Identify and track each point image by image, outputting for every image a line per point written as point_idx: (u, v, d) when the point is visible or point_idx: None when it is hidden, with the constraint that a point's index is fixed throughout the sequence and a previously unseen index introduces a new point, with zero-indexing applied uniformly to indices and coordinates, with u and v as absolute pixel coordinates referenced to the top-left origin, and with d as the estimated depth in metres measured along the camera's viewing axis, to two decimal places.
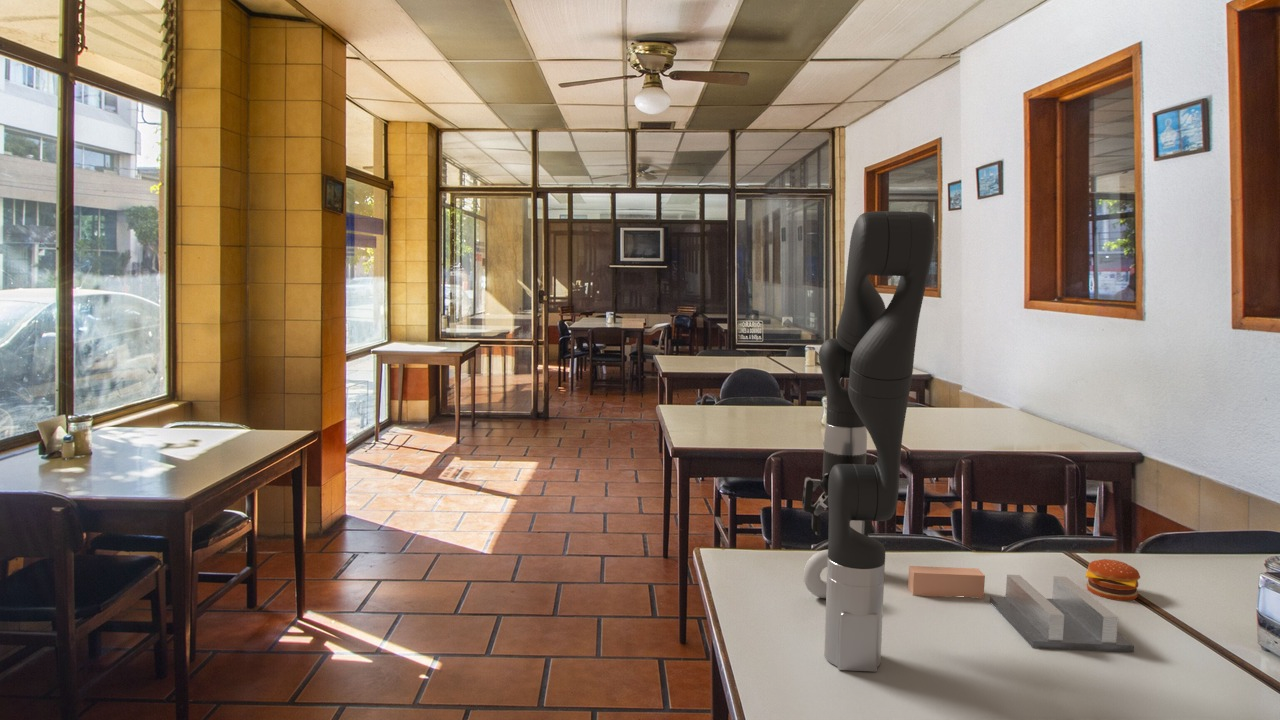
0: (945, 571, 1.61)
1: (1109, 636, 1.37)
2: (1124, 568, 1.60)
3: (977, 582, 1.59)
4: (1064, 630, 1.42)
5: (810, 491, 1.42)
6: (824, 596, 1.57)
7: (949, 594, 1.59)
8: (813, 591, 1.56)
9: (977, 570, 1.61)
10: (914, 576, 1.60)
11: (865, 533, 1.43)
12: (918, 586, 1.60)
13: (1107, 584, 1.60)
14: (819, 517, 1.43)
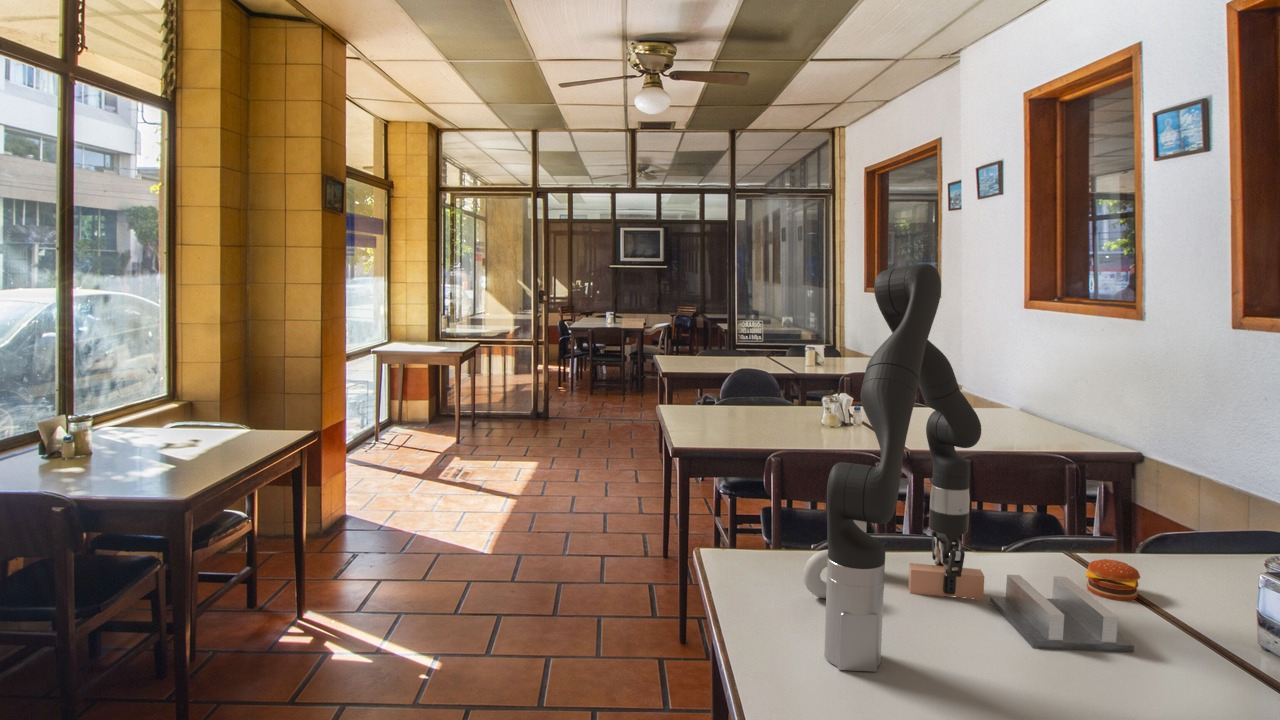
0: None
1: (1109, 636, 1.37)
2: (1124, 568, 1.60)
3: (976, 583, 1.58)
4: (1064, 630, 1.42)
5: None
6: (824, 596, 1.57)
7: None
8: (813, 591, 1.56)
9: (979, 571, 1.60)
10: (911, 573, 1.61)
11: None
12: (915, 583, 1.61)
13: (1107, 584, 1.60)
14: (955, 577, 1.59)
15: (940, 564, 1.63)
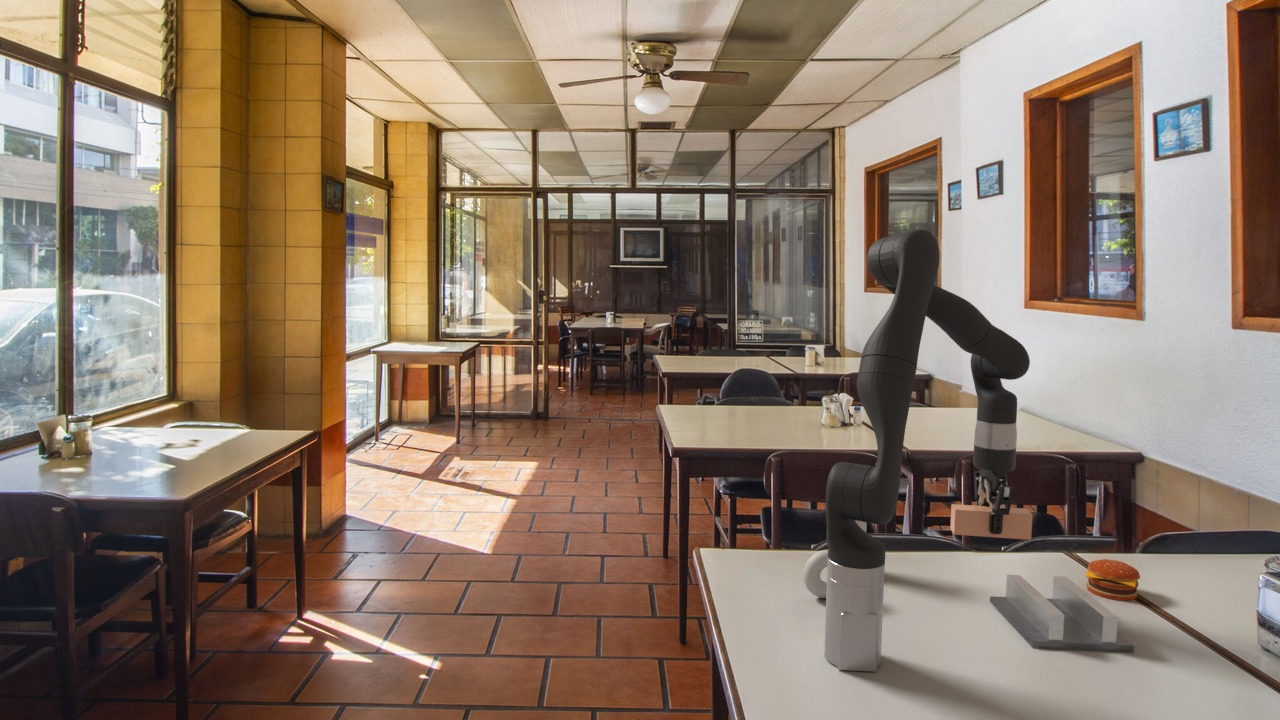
0: None
1: (1109, 636, 1.37)
2: (1124, 568, 1.60)
3: (1024, 521, 1.51)
4: (1064, 630, 1.42)
5: None
6: (824, 596, 1.57)
7: None
8: (813, 591, 1.56)
9: (1025, 510, 1.54)
10: (956, 513, 1.54)
11: None
12: (959, 524, 1.54)
13: (1107, 584, 1.60)
14: None
15: (984, 504, 1.56)
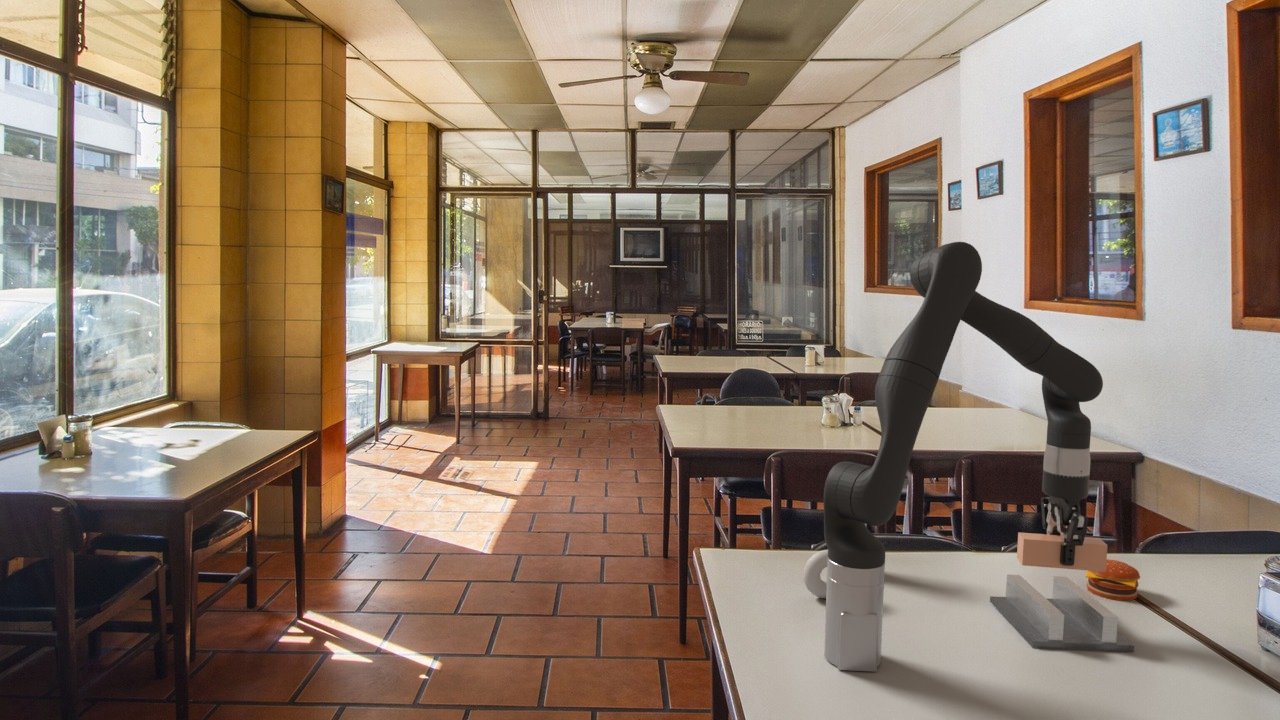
0: None
1: (1109, 636, 1.37)
2: (1124, 568, 1.60)
3: (1098, 552, 1.42)
4: (1064, 630, 1.42)
5: None
6: (824, 596, 1.57)
7: None
8: (813, 591, 1.56)
9: (1098, 539, 1.45)
10: (1024, 543, 1.45)
11: None
12: (1028, 554, 1.45)
13: (1107, 584, 1.60)
14: None
15: (1053, 533, 1.47)
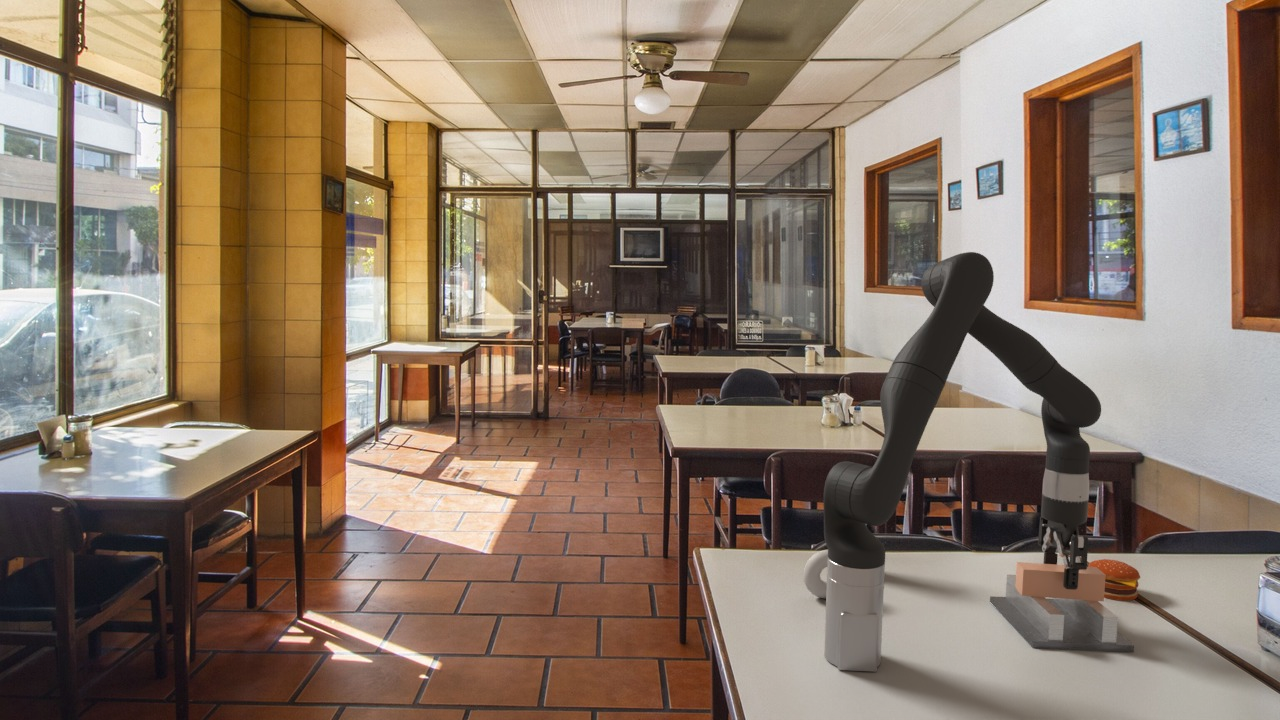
0: (1059, 568, 1.45)
1: (1109, 636, 1.37)
2: (1124, 568, 1.60)
3: (1096, 582, 1.43)
4: (1064, 630, 1.42)
5: None
6: (824, 596, 1.57)
7: (1064, 594, 1.44)
8: (813, 591, 1.56)
9: (1096, 569, 1.45)
10: (1024, 573, 1.45)
11: None
12: (1028, 585, 1.45)
13: (1107, 584, 1.60)
14: (1077, 570, 1.41)
15: (1049, 550, 1.49)
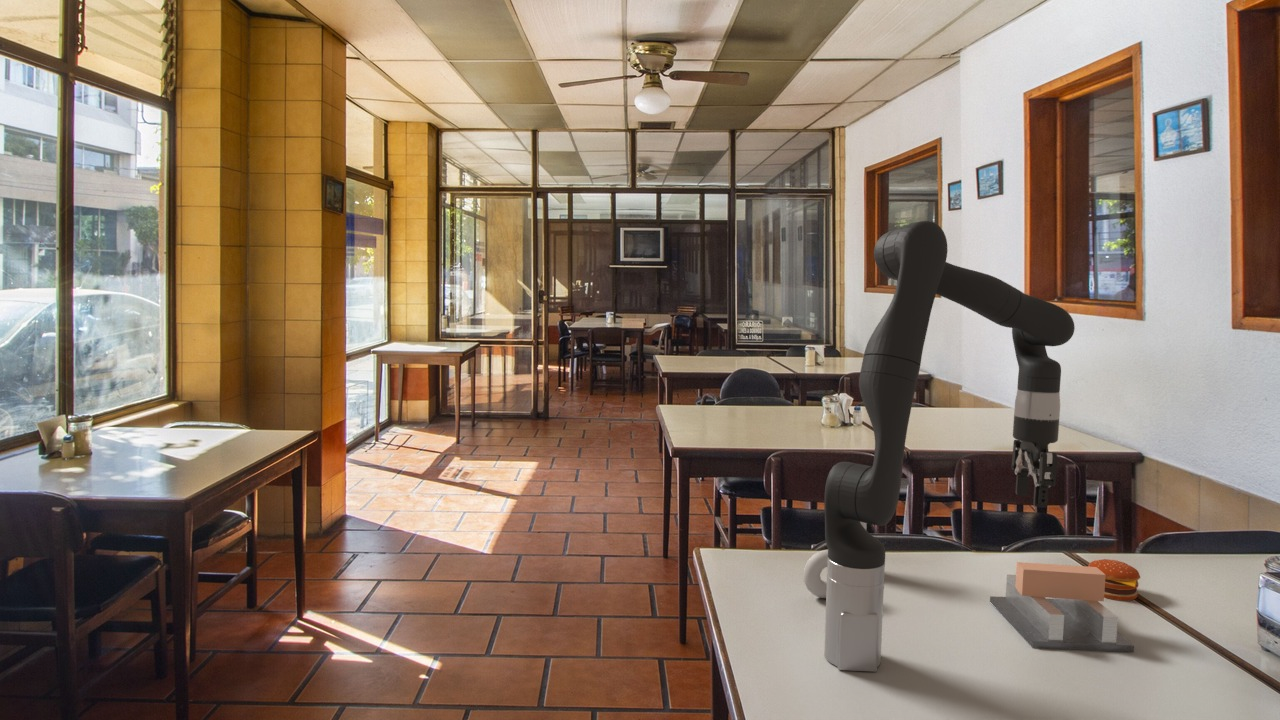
0: (1059, 568, 1.45)
1: (1109, 636, 1.37)
2: (1124, 568, 1.60)
3: (1096, 582, 1.43)
4: (1064, 630, 1.42)
5: None
6: (824, 596, 1.57)
7: (1064, 594, 1.44)
8: (813, 591, 1.56)
9: (1096, 569, 1.45)
10: (1024, 573, 1.45)
11: None
12: (1028, 585, 1.45)
13: (1107, 584, 1.60)
14: None
15: (1021, 473, 1.50)
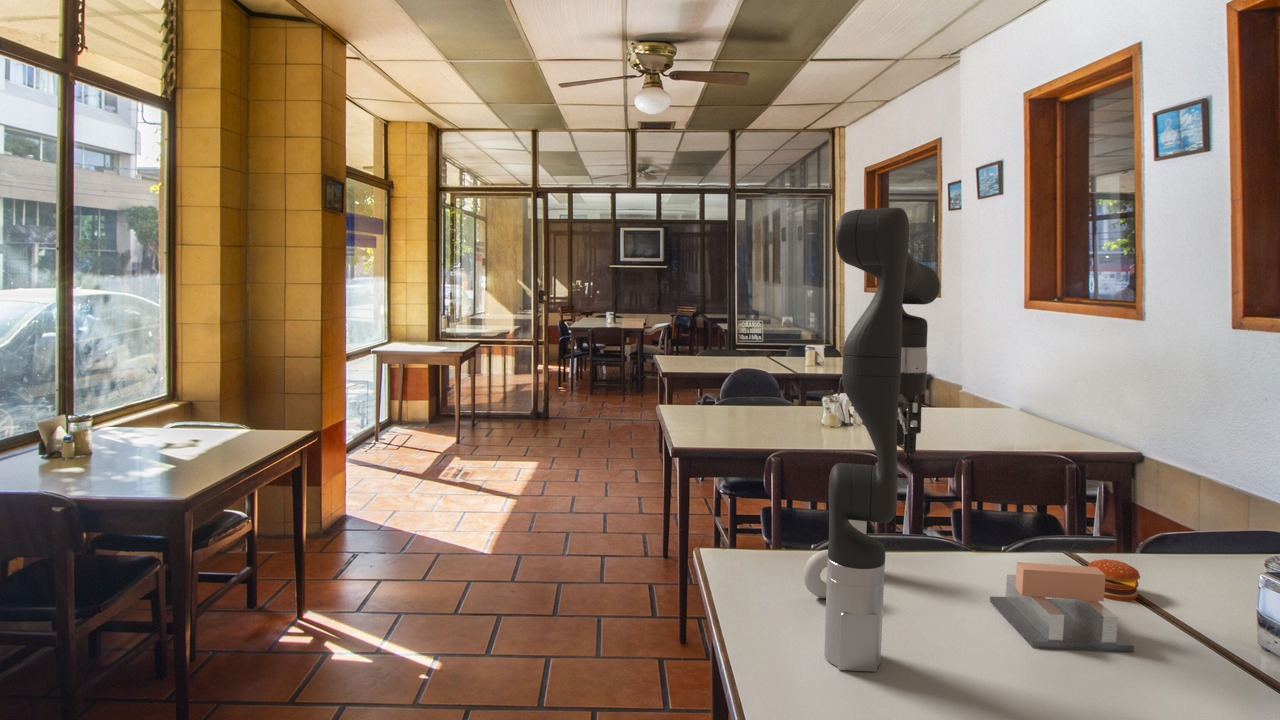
0: (1059, 568, 1.45)
1: (1109, 636, 1.37)
2: (1124, 568, 1.60)
3: (1096, 582, 1.43)
4: (1064, 630, 1.42)
5: None
6: (824, 596, 1.57)
7: (1064, 594, 1.44)
8: (813, 591, 1.56)
9: (1096, 569, 1.45)
10: (1024, 573, 1.45)
11: (903, 441, 1.62)
12: (1028, 585, 1.45)
13: (1107, 584, 1.60)
14: (915, 435, 1.54)
15: (896, 424, 1.62)
